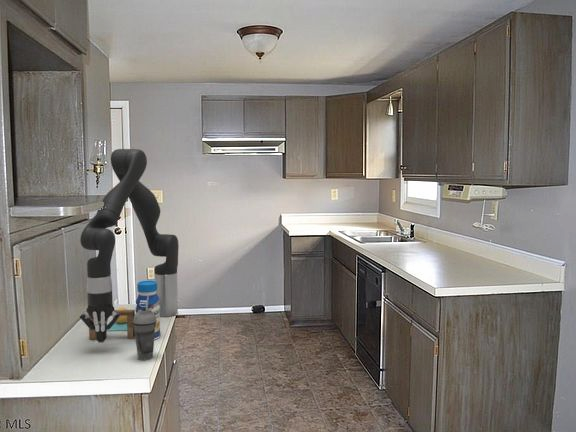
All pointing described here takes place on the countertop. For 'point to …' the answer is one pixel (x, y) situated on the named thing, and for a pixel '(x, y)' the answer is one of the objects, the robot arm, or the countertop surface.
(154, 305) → the beverage bottle
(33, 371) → the countertop surface
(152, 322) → the beverage cup
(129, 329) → the bridge
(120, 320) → the ball
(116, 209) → the robot arm
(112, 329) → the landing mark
